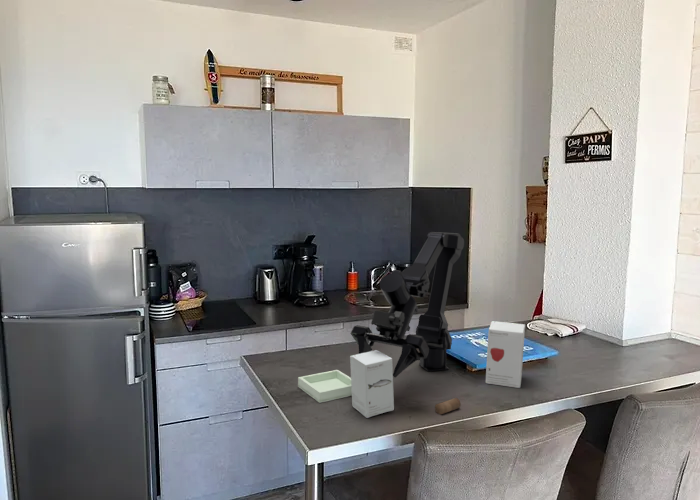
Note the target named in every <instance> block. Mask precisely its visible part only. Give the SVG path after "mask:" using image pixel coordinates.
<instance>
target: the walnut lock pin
mask: <svg viewBox="0 0 700 500" xmlns="http://www.w3.org/2000/svg"><path fill="white" fill-rule="evenodd" d="M461 406H462V404H461V401H460V399H458V398H457V397H454V398H452V399H451V398H450V399H449V400H448V399H447V400H446V401H442V402H440V403H437V404H435V406H434V410H435V413H436V414H439V415H440V416H441V415H443V414H446V413H449V412H452V411H456V410H457V409H460V408H461Z"/></svg>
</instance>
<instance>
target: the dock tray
mask: <svg viewBox="0 0 700 500" xmlns="http://www.w3.org/2000/svg"><path fill="white" fill-rule="evenodd" d="M297 387H298V388H299V389H301V390H302V391H303V392H304V393H305V394H307V395H308V396H310V397H311V398H313V399H314V400H315V401H316V402H318V403H325V402H330V401H333V400H334V401H335V400H338V399H342V398H347V397H352V387H351V376H349V375H347V374H346V373H344V372H342V371H340V370H339V369H334V370H330V371H325V372H324V371H323V372H318V373H314V374H309V375H303V376H298V377H297Z"/></svg>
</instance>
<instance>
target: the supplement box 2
mask: <svg viewBox="0 0 700 500" xmlns="http://www.w3.org/2000/svg"><path fill="white" fill-rule="evenodd" d="M525 330H526V324H525V323H524V324H523V323H512V322H506V321H505V322H504V321H497V320H496V321H493V320H492V321H490V326H489V328H488V334H487V350H486V351H487V352H486V364H485V365H486V367H485V368H486V369H485V370H486V371H485V384H490V385H496V386H502V387H503V386H504V387H510V388H516V389H521V384H522V377H523V376H522V375H523V374H522V373H523V363H524V362H523V360H524V359H523V358H524V348H525V347H524V346H525V333H526V332H525Z"/></svg>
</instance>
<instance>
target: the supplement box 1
mask: <svg viewBox="0 0 700 500" xmlns="http://www.w3.org/2000/svg"><path fill="white" fill-rule="evenodd" d="M349 362H350V363H349V364H350V365H349V366H350V377H351V387H352V396H351V403H352V404H351V405H352V407H353V408H354V409H355V410H357V411H358V413H360V415H362V416H363V417H365V418H367V419H369V418H371V417H374V416H378V415H380V414H381V415H382V414H383V413H387V412H392V411H394V409H395V400H394V399H395V398H394V393H395V392H394V376H393V373H394V370H393V369H394V368H393V358H392V357H390V356H389V355H387V354H385V353H384V352H381V351H380V350H378V349H375V350H372V351H370V352H366V353H361V354H359V353H357V354H353V355H350V356H349Z"/></svg>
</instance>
